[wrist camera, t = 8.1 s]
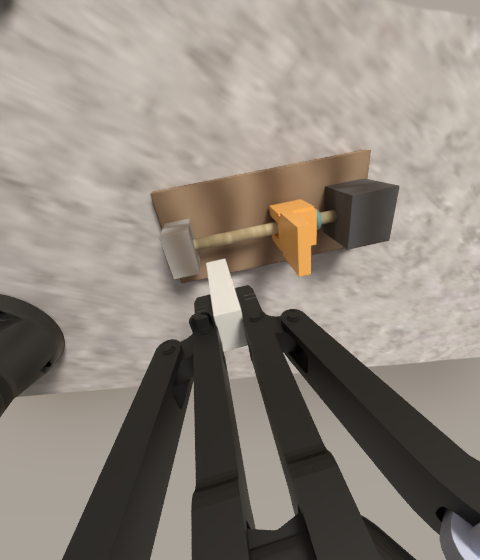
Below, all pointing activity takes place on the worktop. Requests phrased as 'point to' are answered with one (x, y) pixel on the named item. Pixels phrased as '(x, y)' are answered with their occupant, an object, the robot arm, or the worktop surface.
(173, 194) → the rail
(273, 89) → the worktop surface
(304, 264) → the orange sliding rod block
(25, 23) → the worktop surface
